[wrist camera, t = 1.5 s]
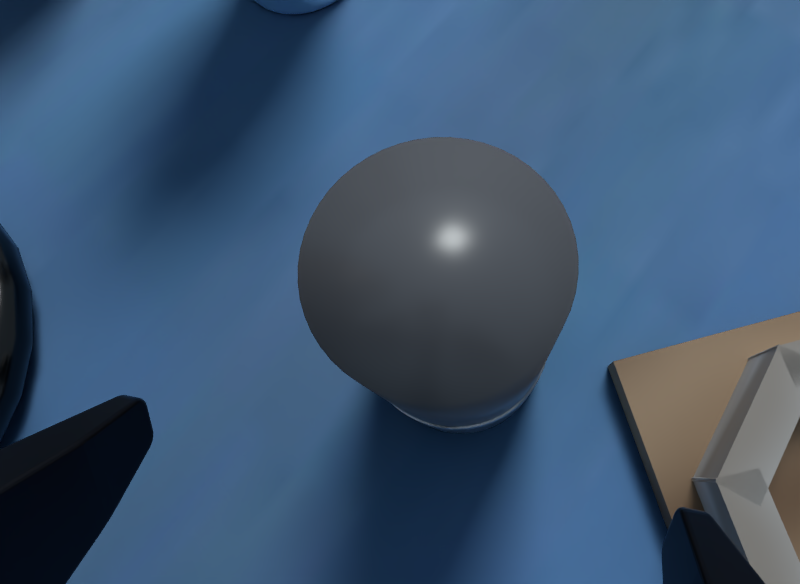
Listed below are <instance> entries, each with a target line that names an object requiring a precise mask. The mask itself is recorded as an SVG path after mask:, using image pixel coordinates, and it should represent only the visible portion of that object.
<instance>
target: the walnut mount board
mask: <svg viewBox="0 0 800 584" xmlns="http://www.w3.org/2000/svg"><path fill="white" fill-rule="evenodd" d="M608 369H609V372H610V374H611V377H612V380H613V383H614V385H615V388H616V391H617V393H618V396H619V399H620V402H621V404H622V407H623V410H624V413H625V415H626V418H627V421H628V423H629V426H630V429H631V432H632V434H633V437H634V440H635V443H636V445H637V448H638V451H639V453H640V456H641V459H642V462H643V464H644V467H645V470H646V473H647V475H648V478H649V481H650V483H651V486H652V489H653V492H654V494H655V497H656V500H657V503H658V505H659V508H660V511H661V513H662V516H663V519H664V522H665V524H666V527H667V530H668V529H669V526H670V524H671V521H672V518H673V516H674V513H675V511H676V510H677V509H678V508H680V507H686V508H691V509H696V510H701V511H705V512H707V513H709V514H710V515H711V516H712V517H713V518H714V520H715V521H716V522H717V523H718V525H719V526H720V527H721V528H722V530H723V531H724V532H725V533H726V535H727V536H728V537H729V538H730V540H731V541H732V542H733V544H734V545H735V546H736V547H737V549H738V550H739V551H740V552H741V554H742V555H743V556H744V557H745V559H746V560H747V561H748V562H749V564H750V565H751V566H752V567H753V569H754V570H755V571H756V572H757V574H758V575H759V576H760V578H761V579H762V580H763V581H764V583H765V584H800V312H796V313H792V314H789V315H785V316H781V317H778V318H774V319H770V320H766V321H763V322H759V323H755V324H752V325H748V326H744V327H740V328H737V329H733V330H729V331H725V332H722V333H718V334H714V335H711V336H707V337H703V338H699V339H696V340H692V341H688V342H685V343H681V344H677V345H673V346H670V347H666V348H662V349H659V350H655V351H651V352H647V353H644V354H640V355H636V356H632V357H629V358H625V359H621V360H618V361H614V362H612V363H611V364H610V365H609V366H608Z"/></svg>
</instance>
